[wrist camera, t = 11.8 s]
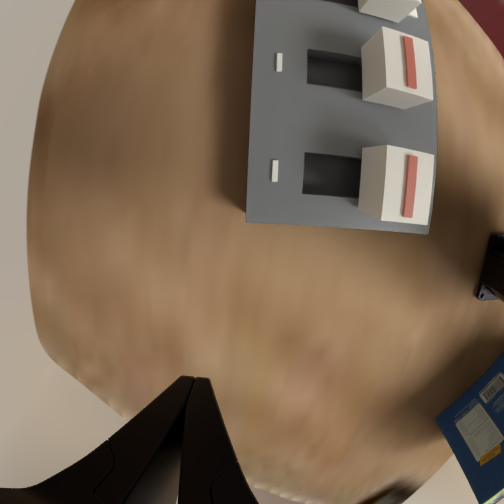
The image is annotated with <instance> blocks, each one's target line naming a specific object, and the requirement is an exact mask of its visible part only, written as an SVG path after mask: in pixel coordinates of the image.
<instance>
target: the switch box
mask: <svg viewBox="0 0 504 504" xmlns="http://www.w3.org/2000/svg"><path fill="white" fill-rule="evenodd" d="M421 2H422V3H421V4H420V5H419V6H418V7H416V8H415V9H414V10H413V11H412V12H411V13H409V14H408V15H407V16H406V17H405V18H404V19H402V20H401V21H400V22H399V23H396V22H393V21H390V20H387V19H383V18H380V17H376V16H372V15H369V14H365V13H361V12H359V7H358V0H256V12H255V30H254V50H253V69H252V90H251V111H250V133H249V156H248V179H247V204H246V222H247V223H269V224H288V225H306V226H323V227H338V228H353V229H367V230H380V231H392V232H404V233H416V234H427V235H429V228H430V222H431V214H432V207H433V198H434V188H435V176H436V161H437V93H436V78H435V67H434V58H433V50H432V43H431V36H430V30H429V25H428V19H427V14H426V10H425V5H424V1H423V0H421ZM382 26H383V27H387V28H390V29H393V30H396V31H400V32H403V33H406V34H409V35H412V36H414V37H417V38H420V39H423V40H425V41H428V45H429V52H430V61H431V71H432V83H433V101H430V102H426V103H423V104H420V105H417V106H413V107H410V108H407V109H400V108H396V107H392V106H388V105H383V104H379V103H374V102H369V101H364V100H362V57H361V47H362V46H363V45H364V44H365V43H366V42H367V41H368V40H369V39H370V38H371V37H372V36H373V35H374V34H375V33H376V32H377V31H378V30H379V29H380V28H381V27H382ZM381 145H391V146H396V147H401V148H406V149H411V150H415V151H420V152H424V153H428V154H432V155H434V168H433V181H432V192H431V202H430V210H429V217H428V225H421V224H411V223H401V222H391V221H381V220H379V219H377V218H375V217H373V216H371V215H368V214H366V213H364V212H362V211H360V210H358V201H359V190H360V178H361V163H362V148H365V147H373V146H381Z"/></svg>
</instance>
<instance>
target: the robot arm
mask: <svg viewBox="0 0 504 504" xmlns="http://www.w3.org/2000/svg"><path fill="white" fill-rule="evenodd" d="M494 238H495V239H494ZM476 298H477V299H478V300H480V301H482V300H495V299H500V300H501V301H503V302H504V234H498V233H492V234H491V236H490V241H489V246H488V251H487V255H486V260H485V264H484V269H483V273H482V276H481V280H480V284H479V288H478V291H477V295H476ZM177 496H178V504H259V503H258V502H257V500H256V498H255V496H254V495H253V493H252V491H251V489H250V488H249V485H248V483H247V481H246V479H245V477H244V474H243V472H242V470H241V467H240V464H239V462H238V460H237V457H236V454H235V452H234V449H233V446H232V444H231V441H230V438H229V435H228V432H227V430H226V427H225V424H224V421H223V418H222V415H221V412H220V409H219V406H218V403H217V400H216V397H215V394H214V391H213V388H212V384H211V381H210V379H209V378H204V377H196V378H195V377H193V376H184V375H183V376H180V377H179V378H178V379H177V380H176V381H175V382H173V383H172V384H171V385H170V386H169V387H168V388H167V389H166V390H165V391H163V392H162V393H161V394H160V395H159V396H158V397H157V398H155V399H154V400H153V401H152V402H151V403H150V404H149V405H147V406H146V407H145V408H144V409H143V410H142V411H140V412H139V413H138V414H137V415H136V416H135V417H133V418H132V419H131V420H130V421H129V422H128V423H126V424H125V425H124V426H123V427H122V428H120V430H118V431H117V432H116V433H115V434H113V435H112V436H111V437H110V438H108V440H106V441H105V442H104V443H102V444H101V445H100V446H99V447H97V448H96V449H95V450H94V451H92V452H91V453H89V454H88V455H87V456H85V457H84V458H82V459H81V460H79V461H78V462H76V463H74V464H73V465H71V466H70V467H68V468H66V469H64V470H63V471H61V472H59V473H57V474H56V475H54V476H52V477H50V478H48V479H46V480H45V481H43V482H41V483H39V484H37V485H34V486H31V487H27V488H0V504H176V500H177Z"/></svg>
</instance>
